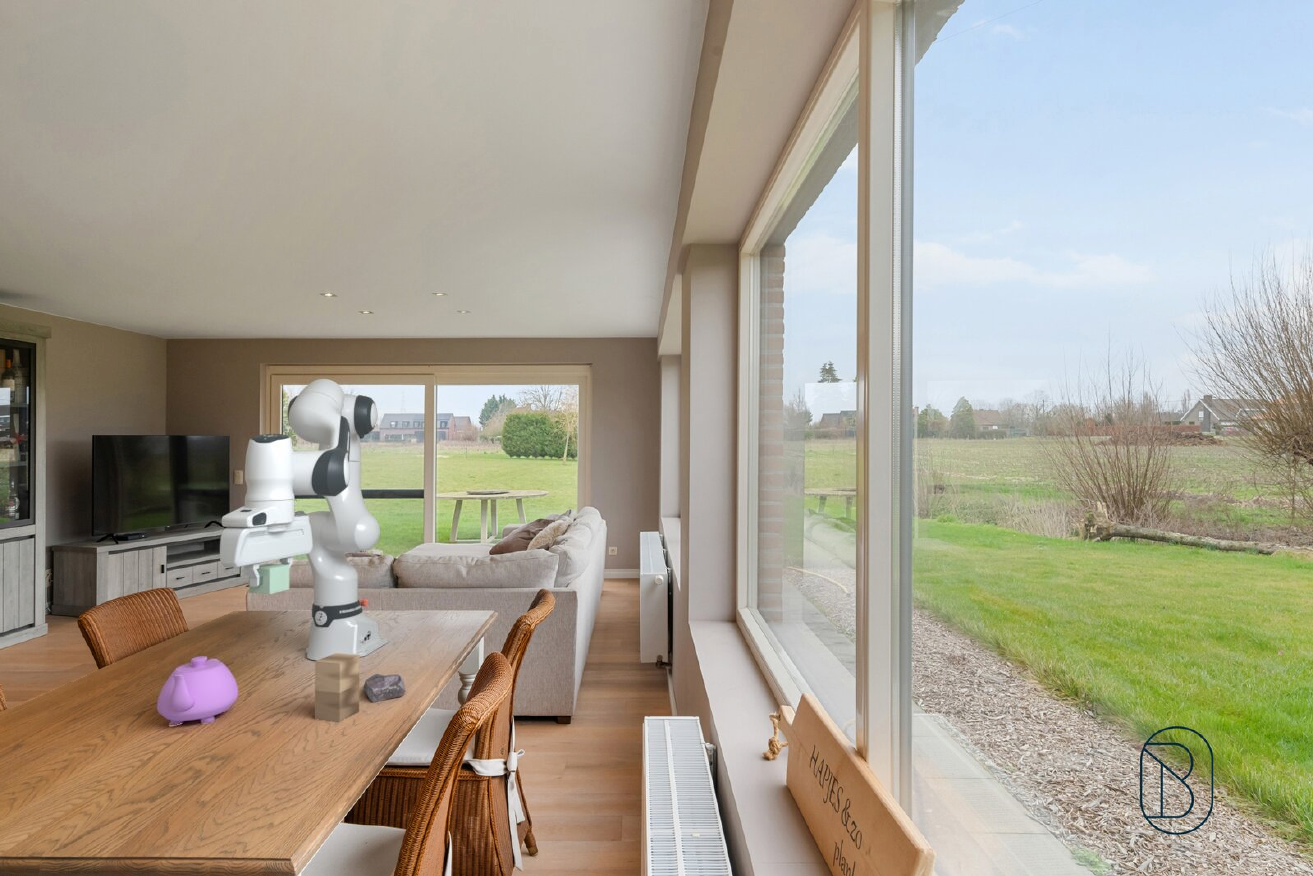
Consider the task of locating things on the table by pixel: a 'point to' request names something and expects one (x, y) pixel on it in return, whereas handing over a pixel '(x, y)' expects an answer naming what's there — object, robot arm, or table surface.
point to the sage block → (272, 579)
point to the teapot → (197, 691)
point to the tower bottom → (336, 704)
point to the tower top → (337, 672)
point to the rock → (384, 687)
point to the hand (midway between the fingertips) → (269, 582)
